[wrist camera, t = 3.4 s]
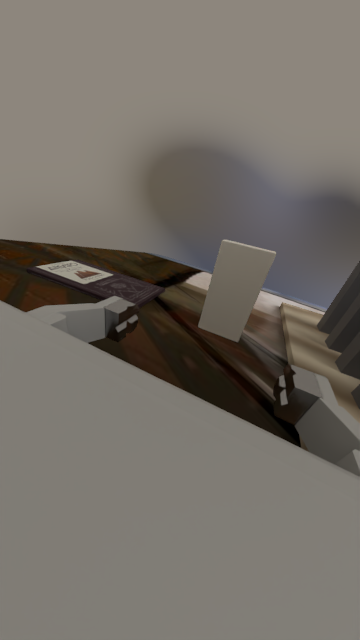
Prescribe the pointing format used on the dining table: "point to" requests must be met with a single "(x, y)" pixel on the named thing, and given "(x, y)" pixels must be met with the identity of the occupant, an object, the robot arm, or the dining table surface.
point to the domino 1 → (234, 288)
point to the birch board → (316, 355)
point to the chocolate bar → (98, 281)
